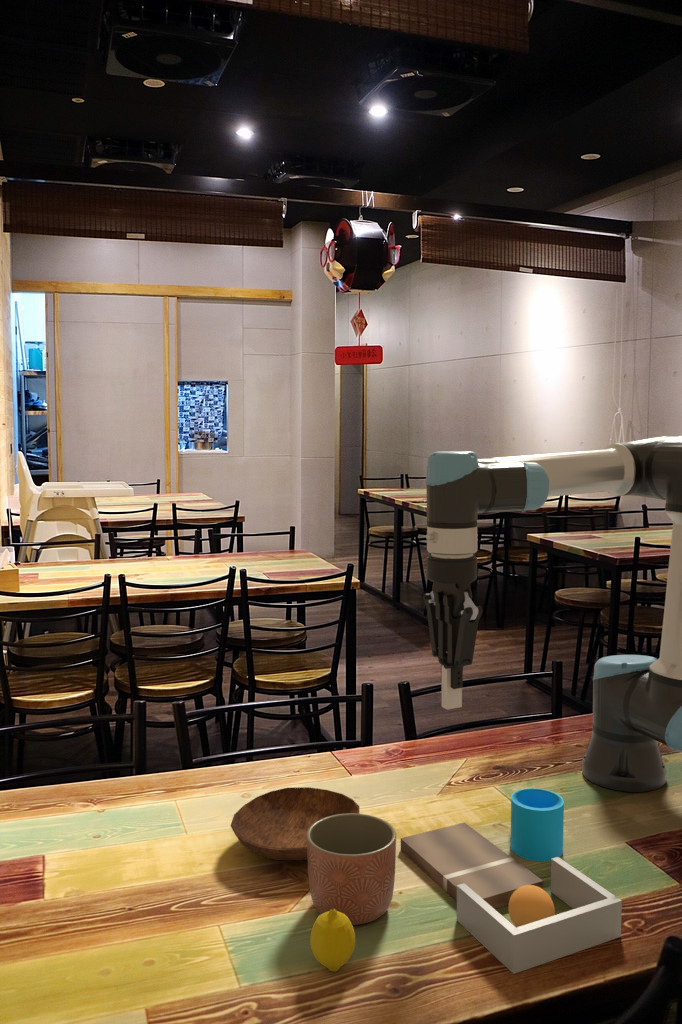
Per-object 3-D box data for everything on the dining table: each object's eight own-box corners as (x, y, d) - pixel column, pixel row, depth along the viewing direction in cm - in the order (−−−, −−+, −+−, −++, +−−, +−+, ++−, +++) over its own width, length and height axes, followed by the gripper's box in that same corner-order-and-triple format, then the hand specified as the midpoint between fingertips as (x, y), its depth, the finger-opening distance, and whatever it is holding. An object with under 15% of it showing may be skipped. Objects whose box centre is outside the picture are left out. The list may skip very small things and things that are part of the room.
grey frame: (557, 889, 123) (558, 856, 122) (620, 936, 111) (621, 900, 111) (456, 920, 115) (456, 885, 115) (513, 973, 104) (514, 935, 103)
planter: (408, 895, 121) (408, 822, 120) (376, 943, 110) (376, 863, 109) (330, 877, 127) (329, 806, 125) (291, 921, 115) (290, 844, 114)
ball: (528, 884, 117) (548, 873, 113) (549, 929, 114) (571, 920, 110) (493, 899, 115) (512, 889, 110) (513, 945, 112) (534, 937, 107)
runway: (464, 834, 139) (464, 822, 139) (542, 894, 121) (543, 880, 121) (400, 850, 134) (400, 838, 134) (472, 915, 116) (472, 901, 116)
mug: (573, 857, 132) (574, 806, 131) (525, 864, 130) (525, 813, 129) (535, 822, 143) (536, 776, 142) (491, 829, 141) (491, 781, 140)
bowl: (379, 827, 142) (379, 798, 142) (321, 893, 122) (321, 859, 122) (276, 806, 150) (276, 778, 150) (206, 864, 131) (205, 833, 130)
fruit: (340, 950, 109) (339, 890, 108) (364, 973, 104) (363, 911, 103) (302, 965, 106) (301, 904, 105) (325, 989, 101) (325, 926, 100)
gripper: (408, 550, 132) (409, 698, 134) (454, 562, 120) (454, 724, 122) (449, 546, 135) (449, 691, 137) (498, 558, 123) (497, 715, 126)
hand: (451, 706), depth 130 cm, fingers closed
